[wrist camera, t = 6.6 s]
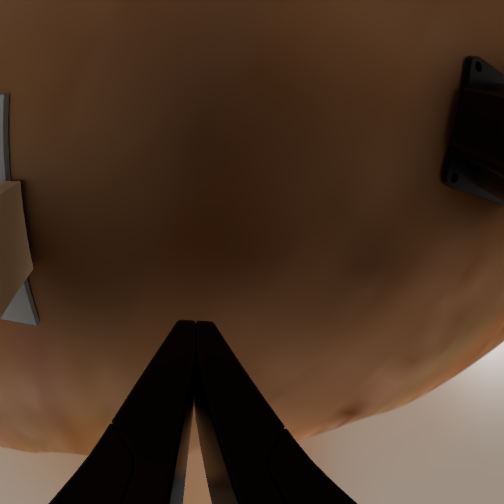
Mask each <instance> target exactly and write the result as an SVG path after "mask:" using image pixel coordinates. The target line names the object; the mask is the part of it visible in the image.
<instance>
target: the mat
mask: <svg viewBox="0 0 504 504" xmlns="http://www.w3.org/2000/svg"><path fill="white" fill-rule="evenodd" d="M8 113H9V94H3V95H0V181H11V178H10V164H9V141H8ZM1 319H4V320H9V321H14V322H19V323H24V324H30V325H35V326H37V324H38V322H39V318H38V315H37V312H36V308H35V305H34V302H33V298H32V294H31V291H30V287H29V283H28V279H26V280H25V282H24V283H23V285H22V286H21V287H20V289H19V290H18V292H17V293H16V295H15V296H14V298H13V300H12V301H11V303H10V304H9V306H8V307H7V309H6V310H5V312H4V314H3V315H2V317H1Z"/></svg>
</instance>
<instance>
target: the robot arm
mask: <svg viewBox="0 0 504 504" xmlns="http://www.w3.org/2000/svg"><path fill="white" fill-rule="evenodd" d="M475 64H476V68H475ZM452 174H453V176H452V178H451V175H452ZM441 177H442V181H443V183H444V184H446V185H447V186H449V187H451V188H453V189H457V190H460V191H463V192H466V193H469V194H472V195H475V196H478V197H481V198H484V199H487V200H490V201H493V202H496V203H499V204H501V205H504V75H503V74H502V73H500V72H499V71H498V70H496V69H495V68H494V67H492V66H491V65H490V64H488V63H487V62H486V61H484V60H483V59H481V58H480V57H478V56H469V57H468V58H467V60H466V64H465V71H464V78H463V84H462V90H461V95H460V101H459V106H458V111H457V115H456V120H455V125H454V129H453V133H452V137H451V141H450V145H449V149H448V153H447V157H446V160H445V164H444V168H443V171H442V176H441ZM193 407H195V416H196V422H197V428H198V434H199V440H200V446H201V451H202V457H203V462H204V468H205V473H206V478H207V483H208V488H209V493H210V497H211V502H212V504H357V503H356V502H355V501H354V500H353V499H351V498H350V497H349V496H348V495H347V494H346V493H345V492H344V491H343V490H341V489H340V488H339V487H338V486H337V485H336V484H335V483H334V482H333V481H332V480H331V479H330V478H329V477H328V476H326V474H325V473H324V472H323V471H322V470H321V469H320V468H319V467H318V466H317V465H316V464H315V463H314V462H313V461H312V460H311V459H310V458H309V456H308V455H307V454H306V453H305V452H304V450H303V449H302V448H301V447H300V445H299V444H298V443H297V442H296V440H295V439H294V438H293V436H292V435H291V434H290V432H289V431H288V430H287V429H284V428H285V426H284V425H283V423H282V422H281V420H280V419H279V418H278V416H277V415H276V414H275V412H274V411H273V409H272V408H271V407H270V405H269V404H268V402H267V401H266V400H265V398H264V397H263V395H262V394H261V393H260V391H259V390H258V388H257V387H256V385H255V384H254V383H253V381H252V380H251V378H250V377H249V375H248V374H247V372H246V371H245V369H244V368H243V366H242V365H241V363H240V362H239V360H238V359H237V358H236V356H235V355H234V353H233V351H232V350H231V348H230V347H229V345H228V344H227V342H226V341H225V339H224V338H223V336H222V335H221V333H220V332H219V330H218V328H217V327H216V325H215V324H214V323H213V322H211V321H197V322H196V324H195V321H193V320H178V321H177V322H176V324H175V325H174V327H173V328H172V330H171V331H170V333H169V334H168V336H167V337H166V339H165V340H164V342H163V343H162V345H161V346H160V348H159V349H158V351H157V352H156V354H155V355H154V357H153V358H152V360H151V361H150V363H149V364H148V366H147V367H146V369H145V370H144V372H143V374H142V375H141V377H140V378H139V380H138V381H137V383H136V384H135V386H134V387H133V389H132V390H131V392H130V393H129V395H128V397H127V398H126V400H125V401H124V403H123V404H122V406H121V407H120V409H119V411H118V412H117V414H116V415H115V417H114V418H113V420H112V424H109V426H108V427H107V429H106V431H105V432H104V434H103V435H102V437H101V438H100V440H99V441H98V443H97V444H96V446H95V447H94V449H93V450H92V452H91V453H90V454H89V456H88V457H87V458H86V460H85V461H84V462H83V463H82V465H81V466H80V467H79V469H78V470H77V471H76V472H75V473H74V475H73V476H72V477H71V478H70V479H69V480H68V482H67V483H66V484H65V485H64V486H63V488H62V489H61V490H60V491H59V492H58V493H57V495H56V496H55V497H54V498H53V499H52V500H51V501H50V503H49V504H183V496H184V487H185V477H186V468H187V459H188V450H189V441H190V433H191V425H192V417H193Z"/></svg>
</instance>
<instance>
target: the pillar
mask: <svg viewBox="0 0 504 504" xmlns="http://www.w3.org/2000/svg"><path fill="white" fill-rule="evenodd" d="M32 270H33V264H32V259H31V254H30V249H29V244H28V238H27V232H26V225H25V218H24V211H23V203H22V194H21V183H20V181H0V319H1V317H2V315H3V314H4V312H5V310H6V309H7V307H8V306H9V304H10V303H11V301H12V300H13V298H14V296H15V295H16V293H17V292H18V290H19V289H20V287H21V286H22V285H23V283H24V282H25V280H26V279H27V277H28V276H29V275H30V273H31V272H32Z"/></svg>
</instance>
